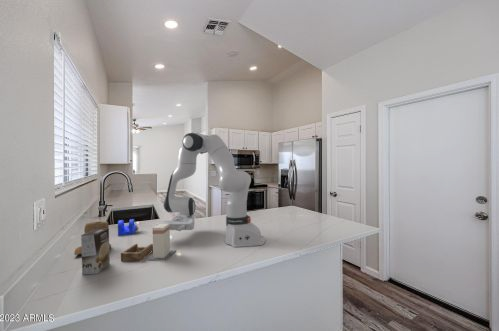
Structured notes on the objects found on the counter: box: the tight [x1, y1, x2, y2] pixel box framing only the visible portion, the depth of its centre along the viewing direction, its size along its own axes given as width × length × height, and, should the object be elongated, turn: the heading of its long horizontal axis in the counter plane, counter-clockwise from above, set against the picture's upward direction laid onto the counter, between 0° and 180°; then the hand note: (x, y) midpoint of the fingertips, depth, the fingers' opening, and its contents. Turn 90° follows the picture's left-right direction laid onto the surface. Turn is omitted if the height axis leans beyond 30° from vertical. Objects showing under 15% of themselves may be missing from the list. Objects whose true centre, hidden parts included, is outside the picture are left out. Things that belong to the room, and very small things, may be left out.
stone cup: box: [73, 220, 112, 256], centre depth 117 cm, size 15×12×15 cm
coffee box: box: [80, 228, 111, 276], centre depth 96 cm, size 9×6×16 cm
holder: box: [120, 243, 153, 262], centre depth 109 cm, size 9×12×4 cm
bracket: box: [117, 218, 138, 237], centre depth 150 cm, size 18×8×9 cm, turn 17°
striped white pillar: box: [152, 224, 171, 258], centre depth 108 cm, size 5×7×14 cm
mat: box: [146, 249, 176, 262], centre depth 109 cm, size 9×11×1 cm
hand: (170, 229), depth 118 cm, fingers open, 8 cm apart
